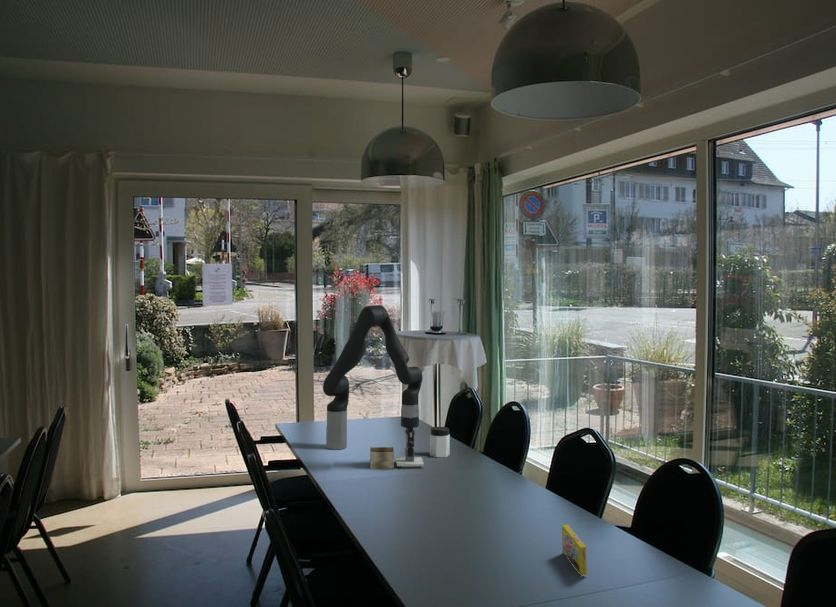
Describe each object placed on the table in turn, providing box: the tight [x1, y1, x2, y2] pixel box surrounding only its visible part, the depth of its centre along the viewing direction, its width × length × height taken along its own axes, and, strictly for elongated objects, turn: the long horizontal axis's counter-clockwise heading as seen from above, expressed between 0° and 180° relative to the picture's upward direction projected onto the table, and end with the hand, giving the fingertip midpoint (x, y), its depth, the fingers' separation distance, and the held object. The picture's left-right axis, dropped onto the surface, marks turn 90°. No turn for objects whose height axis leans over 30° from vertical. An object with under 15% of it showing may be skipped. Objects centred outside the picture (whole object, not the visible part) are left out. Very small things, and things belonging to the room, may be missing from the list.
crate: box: [369, 446, 395, 470], centre depth 288 cm, size 10×10×7 cm
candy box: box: [561, 524, 587, 575], centre depth 190 cm, size 16×2×8 cm, turn 5°
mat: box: [396, 465, 424, 470], centre depth 289 cm, size 10×13×1 cm
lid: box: [395, 447, 425, 467], centre depth 288 cm, size 11×11×7 cm
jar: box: [429, 426, 451, 458], centre depth 307 cm, size 9×8×12 cm
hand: (409, 453), depth 288 cm, fingers open, 8 cm apart
